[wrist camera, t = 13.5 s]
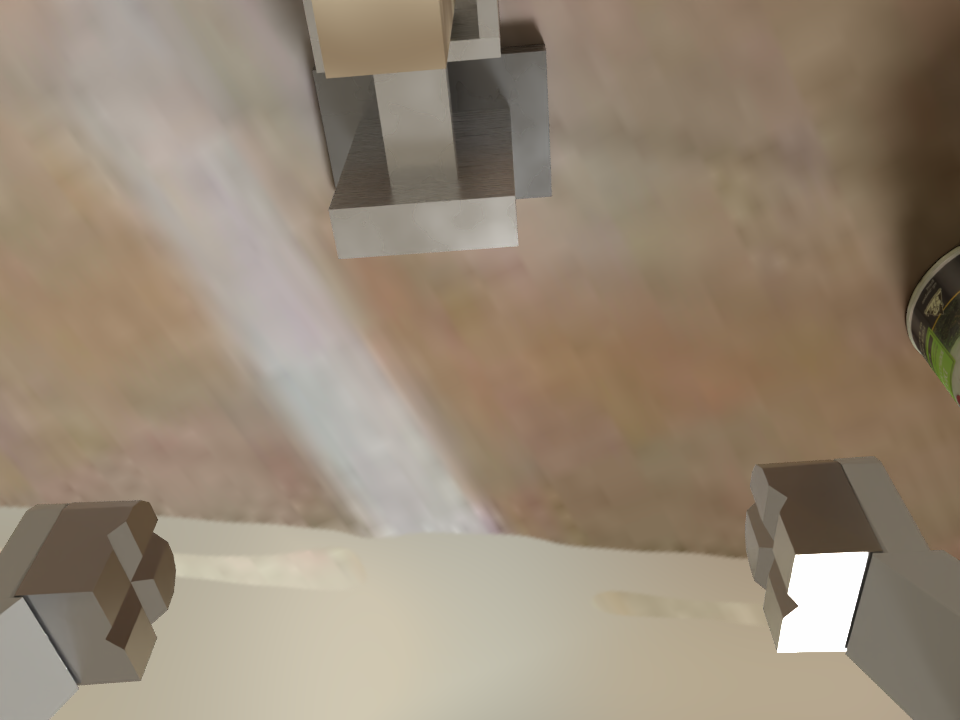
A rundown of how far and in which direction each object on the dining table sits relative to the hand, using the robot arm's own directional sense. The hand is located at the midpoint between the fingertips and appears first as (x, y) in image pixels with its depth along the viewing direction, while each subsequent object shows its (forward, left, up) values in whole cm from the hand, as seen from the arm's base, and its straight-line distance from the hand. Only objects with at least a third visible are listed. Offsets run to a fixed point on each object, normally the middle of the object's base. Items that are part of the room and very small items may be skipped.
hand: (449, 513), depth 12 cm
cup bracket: (+3, -3, -37) cm, 37 cm away
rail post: (-2, -3, -32) cm, 32 cm away
